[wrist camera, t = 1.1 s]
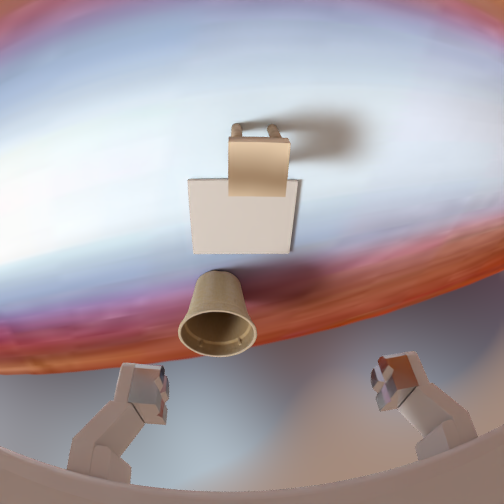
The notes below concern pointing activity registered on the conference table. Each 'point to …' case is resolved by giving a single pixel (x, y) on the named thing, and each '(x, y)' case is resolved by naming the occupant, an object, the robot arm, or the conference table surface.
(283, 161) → the stool
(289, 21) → the conference table surface
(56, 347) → the conference table surface
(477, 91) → the conference table surface
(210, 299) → the flower pot
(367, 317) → the conference table surface
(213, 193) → the mat
